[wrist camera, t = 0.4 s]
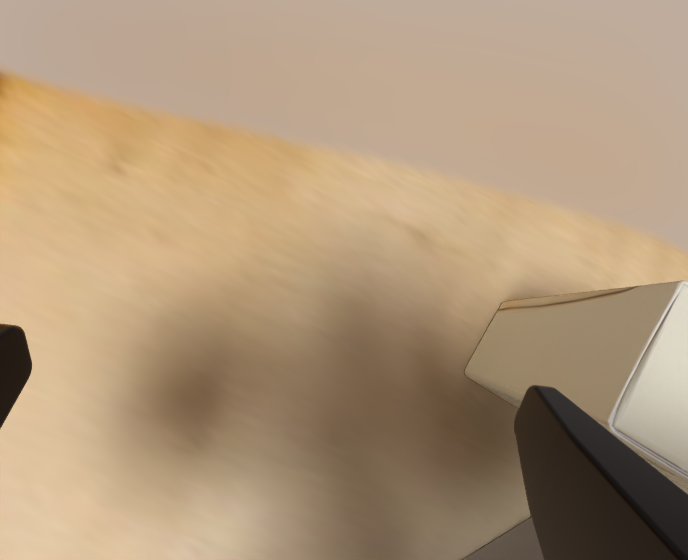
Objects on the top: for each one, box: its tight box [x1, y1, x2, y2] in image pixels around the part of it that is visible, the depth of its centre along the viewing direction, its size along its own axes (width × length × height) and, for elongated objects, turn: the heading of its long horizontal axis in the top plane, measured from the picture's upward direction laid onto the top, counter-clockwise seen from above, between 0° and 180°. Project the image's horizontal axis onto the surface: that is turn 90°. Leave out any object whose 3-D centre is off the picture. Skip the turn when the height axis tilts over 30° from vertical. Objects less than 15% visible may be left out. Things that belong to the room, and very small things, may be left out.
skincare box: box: [464, 281, 688, 493], centre depth 17 cm, size 6×4×12 cm
